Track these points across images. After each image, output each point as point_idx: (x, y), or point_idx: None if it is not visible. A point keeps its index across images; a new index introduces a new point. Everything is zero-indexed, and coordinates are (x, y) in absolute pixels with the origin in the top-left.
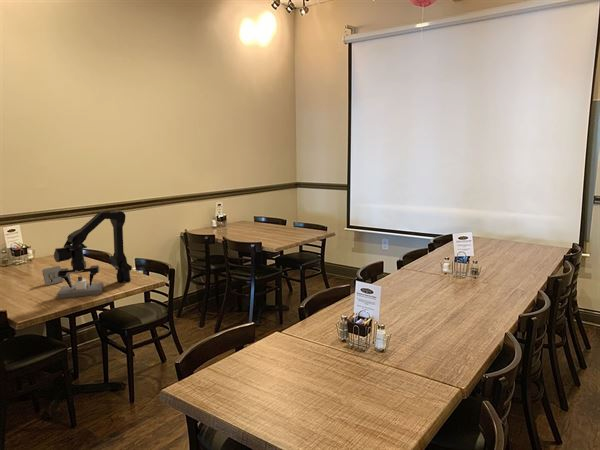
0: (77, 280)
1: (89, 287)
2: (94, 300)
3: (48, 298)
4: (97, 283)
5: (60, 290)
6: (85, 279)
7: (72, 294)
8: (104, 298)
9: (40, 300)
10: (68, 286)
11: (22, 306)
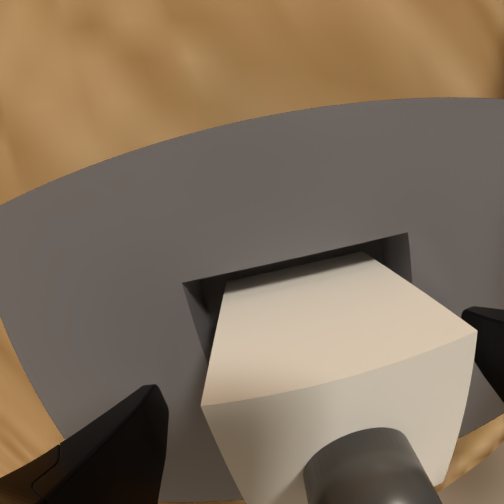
0: (273, 463)
1: None
2: (445, 480)
3: (36, 423)
4: (501, 142)
5: (53, 408)
6: (468, 355)
7: None
8: (499, 441)
9: (19, 441)
10: (43, 240)
11: None
